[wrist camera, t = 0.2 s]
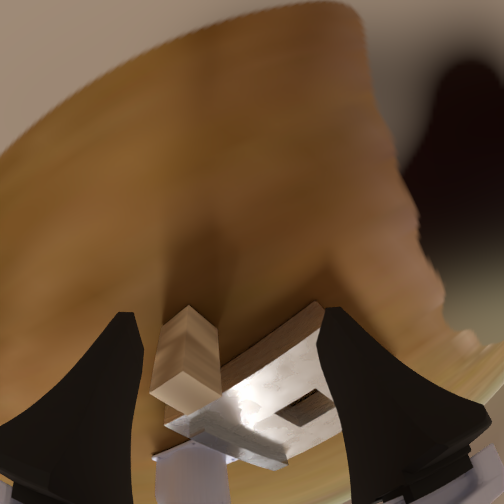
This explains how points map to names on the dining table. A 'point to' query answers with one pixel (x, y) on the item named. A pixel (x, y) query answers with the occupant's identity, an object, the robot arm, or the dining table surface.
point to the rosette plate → (268, 399)
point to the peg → (187, 363)
